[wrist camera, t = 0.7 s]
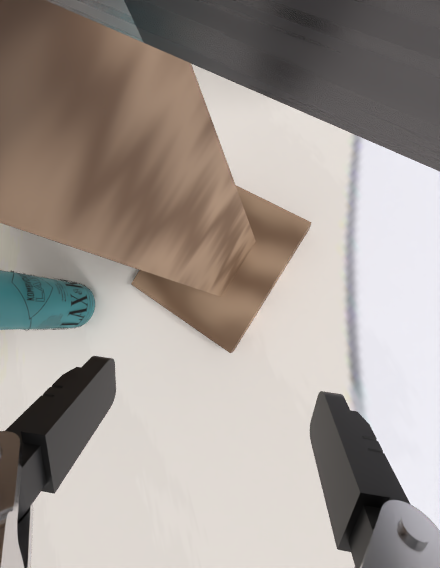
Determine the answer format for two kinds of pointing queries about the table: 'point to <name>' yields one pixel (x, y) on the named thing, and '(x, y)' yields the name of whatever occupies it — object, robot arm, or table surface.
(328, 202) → the table surface
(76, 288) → the beverage bottle
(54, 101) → the walnut pedestal
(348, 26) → the steel bar
